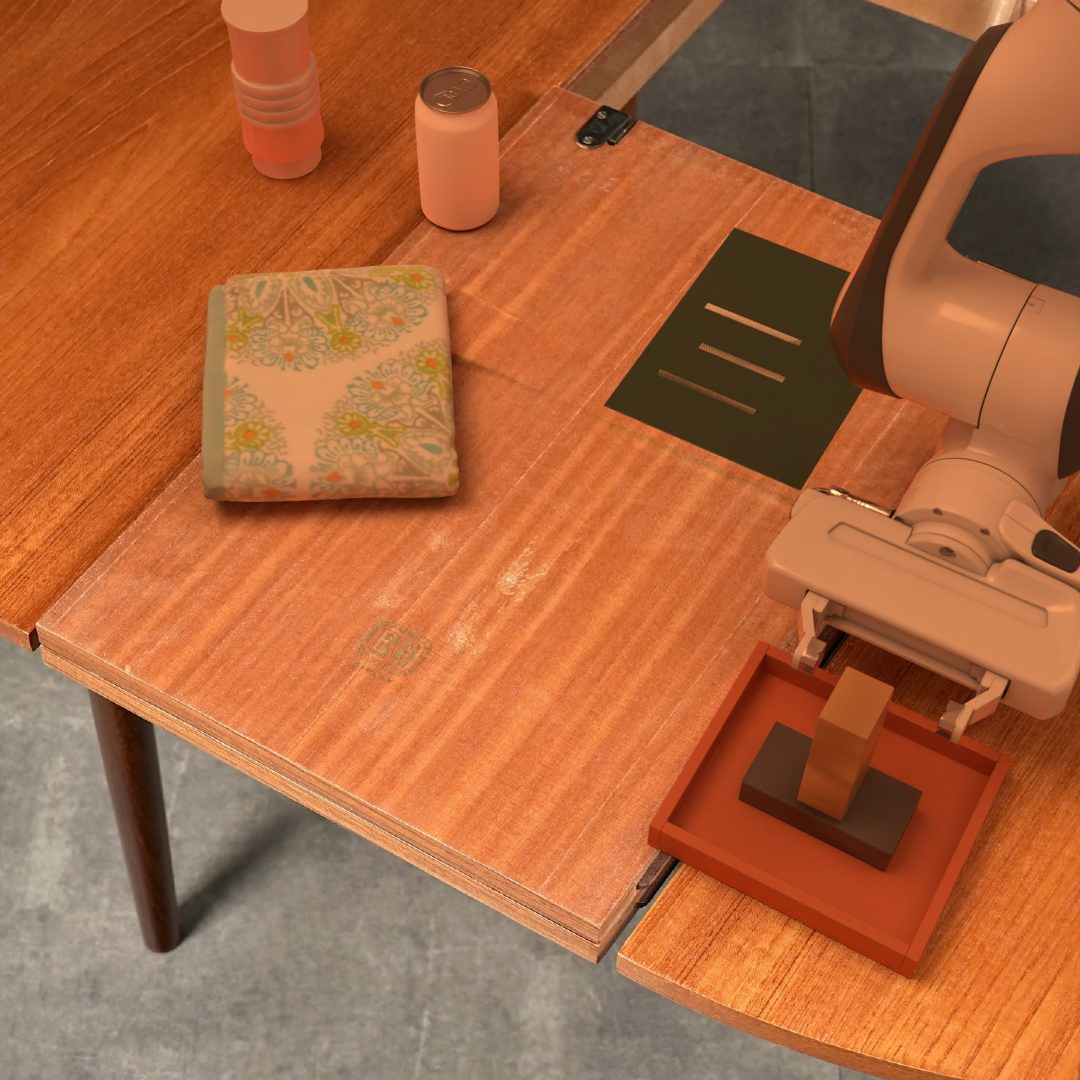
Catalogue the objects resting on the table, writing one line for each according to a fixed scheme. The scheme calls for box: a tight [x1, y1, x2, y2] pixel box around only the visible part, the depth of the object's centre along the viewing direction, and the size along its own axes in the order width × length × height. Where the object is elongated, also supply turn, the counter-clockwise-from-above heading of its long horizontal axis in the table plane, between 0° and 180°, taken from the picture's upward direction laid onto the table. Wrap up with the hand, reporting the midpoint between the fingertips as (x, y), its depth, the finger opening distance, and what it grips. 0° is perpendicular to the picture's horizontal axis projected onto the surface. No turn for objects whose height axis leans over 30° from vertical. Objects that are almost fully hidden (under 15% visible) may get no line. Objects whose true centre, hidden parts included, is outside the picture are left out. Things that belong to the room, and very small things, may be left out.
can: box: [414, 65, 500, 232], centre depth 135 cm, size 6×6×12 cm
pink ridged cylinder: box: [220, 0, 326, 180], centre depth 137 cm, size 7×7×15 cm
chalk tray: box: [646, 639, 1014, 979], centre depth 106 cm, size 18×16×2 cm
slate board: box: [603, 227, 865, 491], centre depth 129 cm, size 16×22×1 cm
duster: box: [738, 666, 923, 872], centre depth 102 cm, size 10×5×12 cm, turn 60°
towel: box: [200, 264, 460, 503], centre depth 125 cm, size 18×21×5 cm
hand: (873, 700), depth 102 cm, fingers open, 8 cm apart
